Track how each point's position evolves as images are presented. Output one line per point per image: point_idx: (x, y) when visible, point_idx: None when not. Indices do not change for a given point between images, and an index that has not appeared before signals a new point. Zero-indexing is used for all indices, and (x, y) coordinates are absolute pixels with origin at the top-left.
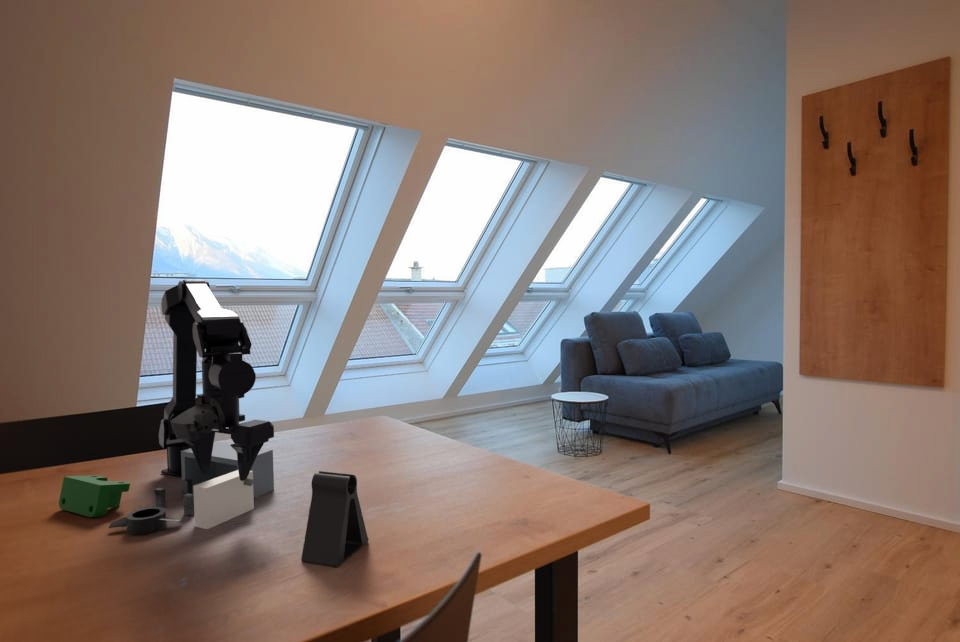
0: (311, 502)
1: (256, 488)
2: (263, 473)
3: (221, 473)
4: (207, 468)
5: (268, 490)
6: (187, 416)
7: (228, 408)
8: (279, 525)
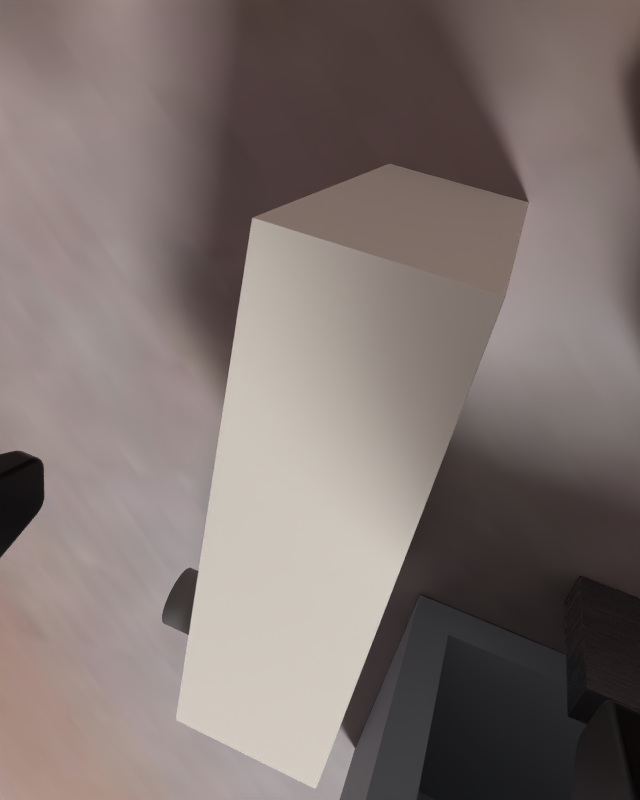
0: None
1: (374, 716)
2: None
3: None
4: (580, 781)
5: (362, 734)
6: None
7: None
8: (15, 292)
